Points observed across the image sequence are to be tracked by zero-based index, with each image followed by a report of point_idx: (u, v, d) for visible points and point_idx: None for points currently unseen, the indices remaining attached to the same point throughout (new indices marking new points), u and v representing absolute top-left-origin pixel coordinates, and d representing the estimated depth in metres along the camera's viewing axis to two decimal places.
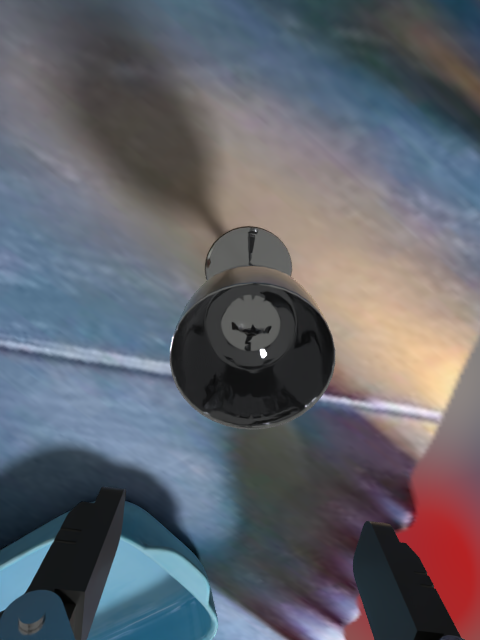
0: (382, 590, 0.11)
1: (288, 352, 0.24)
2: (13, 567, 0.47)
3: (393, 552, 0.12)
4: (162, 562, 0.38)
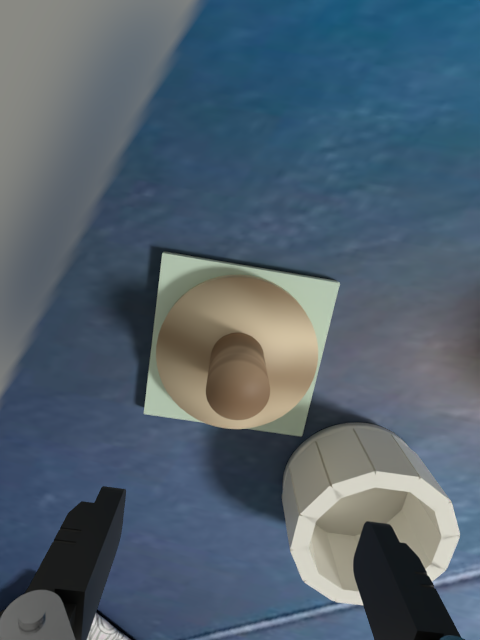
0: (382, 590, 0.11)
1: None
2: None
3: (393, 552, 0.12)
4: None
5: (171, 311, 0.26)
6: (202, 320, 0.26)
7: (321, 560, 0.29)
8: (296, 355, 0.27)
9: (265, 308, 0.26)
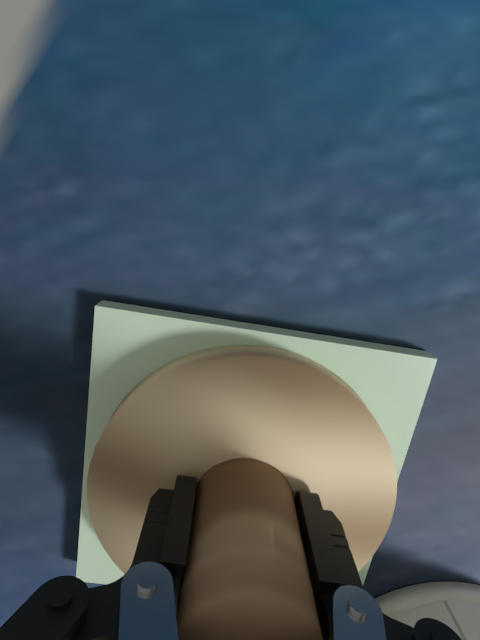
0: None
1: None
2: None
3: (314, 516, 0.12)
4: None
5: (113, 421, 0.13)
6: (174, 437, 0.13)
7: None
8: (355, 496, 0.14)
9: (297, 415, 0.13)
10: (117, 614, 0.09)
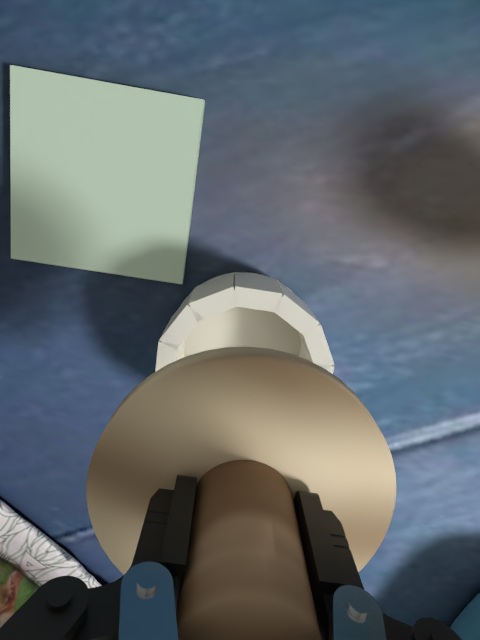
0: None
1: None
2: None
3: (314, 516, 0.12)
4: None
5: (112, 422, 0.13)
6: (174, 438, 0.13)
7: None
8: (354, 498, 0.14)
9: (296, 416, 0.13)
10: (117, 614, 0.09)
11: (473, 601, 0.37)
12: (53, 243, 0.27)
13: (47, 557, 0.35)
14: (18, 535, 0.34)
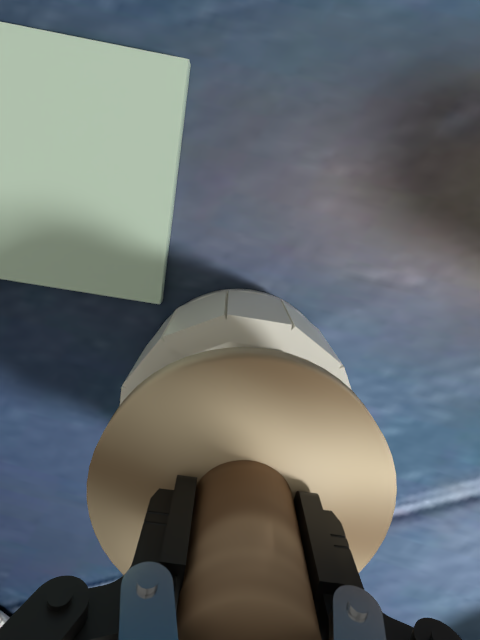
0: None
1: None
2: None
3: (314, 516, 0.12)
4: None
5: (113, 423, 0.13)
6: (174, 439, 0.13)
7: None
8: (354, 498, 0.14)
9: (297, 417, 0.13)
10: (117, 614, 0.09)
11: None
12: None
13: None
14: None
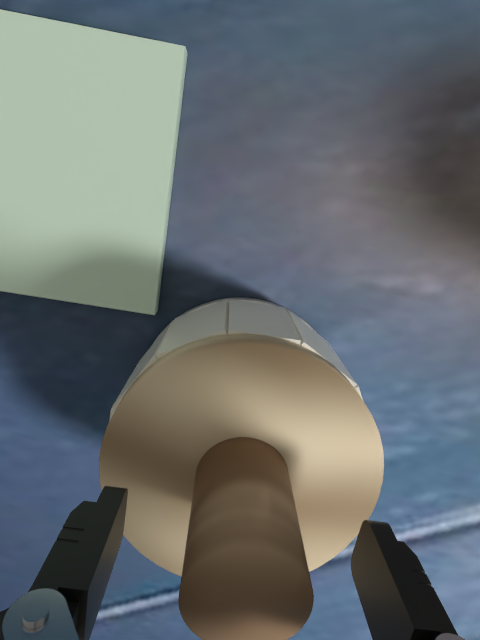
0: (380, 588, 0.11)
1: None
2: None
3: (390, 550, 0.12)
4: None
5: (123, 402, 0.14)
6: (179, 417, 0.15)
7: None
8: (345, 473, 0.15)
9: (291, 397, 0.14)
10: None
11: None
12: None
13: None
14: None
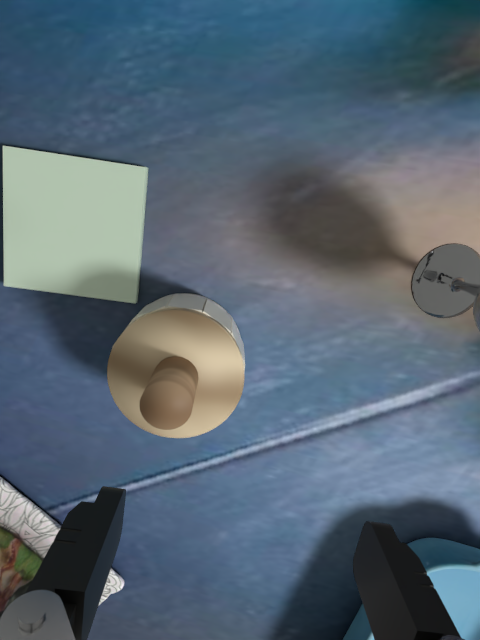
0: (382, 590, 0.11)
1: None
2: None
3: (393, 552, 0.12)
4: None
5: (118, 340, 0.31)
6: (144, 347, 0.31)
7: None
8: (225, 374, 0.32)
9: (196, 336, 0.31)
10: None
11: None
12: (36, 274, 0.36)
13: (41, 526, 0.42)
14: (18, 508, 0.42)
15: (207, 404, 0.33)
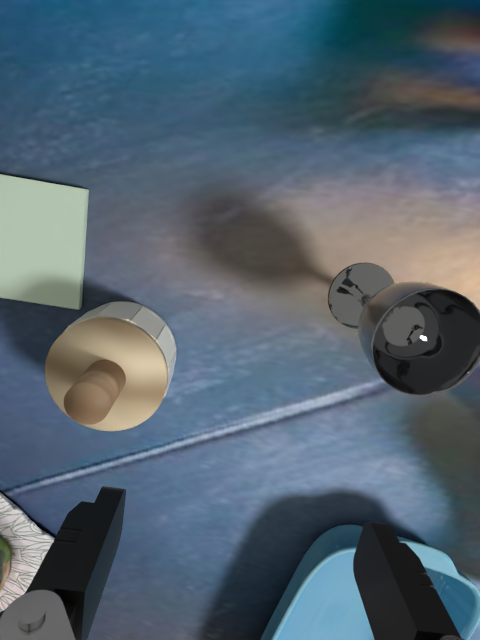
0: (382, 590, 0.11)
1: (436, 332, 0.32)
2: (288, 628, 0.54)
3: (393, 552, 0.12)
4: None
5: (53, 344, 0.35)
6: (77, 351, 0.36)
7: None
8: (149, 376, 0.36)
9: (122, 342, 0.35)
10: None
11: None
12: None
13: None
14: None
15: (134, 402, 0.37)
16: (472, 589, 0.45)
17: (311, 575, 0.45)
